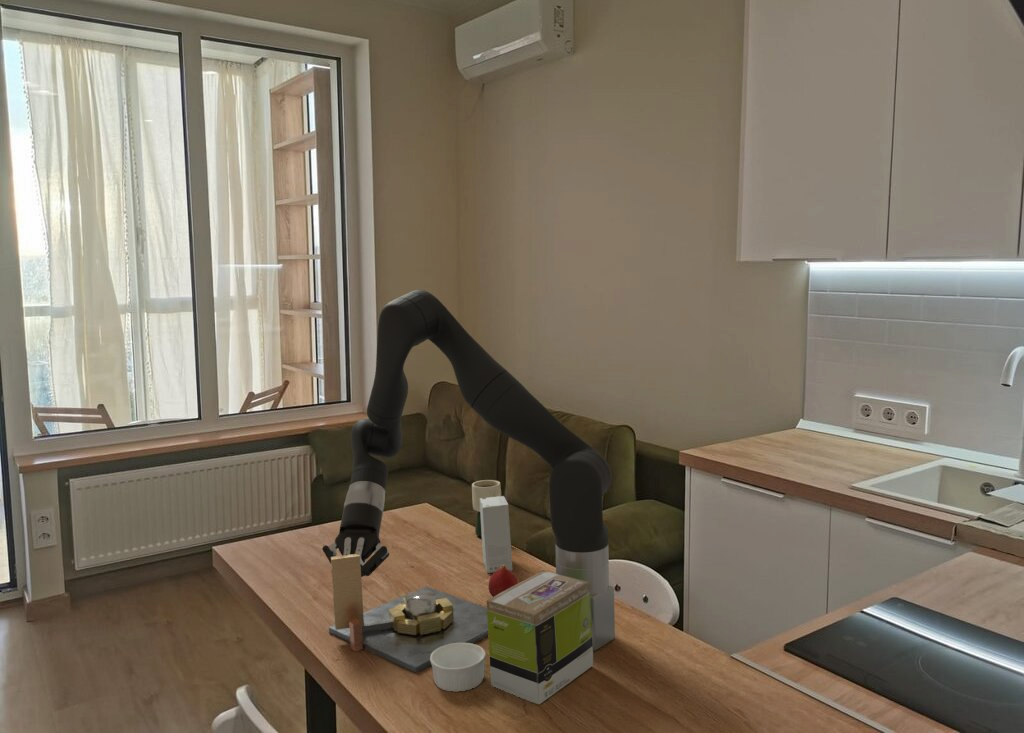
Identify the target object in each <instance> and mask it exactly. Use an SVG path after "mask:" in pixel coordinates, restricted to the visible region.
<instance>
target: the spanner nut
mask: <svg viewBox="0 0 1024 733" xmlns="http://www.w3.org/2000/svg"><path fill="white" fill-rule="evenodd" d="M330 565H331V566H330V567H331V579H332V580H331V581H332V583H331V584H332V597H333V613H334V614H333V616H334V625H335V629H336V630H339V629H346V628H349V629H350V626H349V621H351V620H355V619H359V620H360V621H361V622H362V632H364V631H371V630H378V629H384V628H391V627H392V628H393V629H394V631H397V632H398V633H405V634H411V635H417V634H418V633H419V634H420V635H423V634H428V633H432V632H437V631H441V629H445V628H446V627H447V626H448V625H449V624H450V623H451V622H452V621H453V619H454V614H453V604H452V603H451V602H450V601H449V600H448V599H447V598H442V599H437V600H436V613H432V614H427V615H423V616H418V617H417V620H412V619H405V617H406V608H405V598H403V604H398V605H397V606H396V607H394V608H393V609H388V610H389V618H387V619H380V620H374V621H367V622H364V616H363V613H364V603H363V601H364V600H363V586H362V577H361V565H360V554H351V555H343V556H342V555H338V556H337V555H336V556H334V557H331V563H330Z"/></svg>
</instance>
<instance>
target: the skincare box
mask: <svg viewBox="0 0 1024 733" xmlns="http://www.w3.org/2000/svg"><path fill="white" fill-rule="evenodd" d="M480 515H481V533H482V536H481V546H482V549H481V550H482V561H483V565H484V568H485V570H486V573H487V574H491V573H492V574H493V573H494V572H496V571H497V570H498V569H499V568H500V567H501V566H502V565H505V566H506V569H508V570H509V571H511V572H512V571H513V560H512V559H513V558H512V555H513V554H512V543H511V541H512V540H511V528H510V514H509V503H508V501H507V499H506V497H505V496H504V495H501V496H498V497H489V498H480Z"/></svg>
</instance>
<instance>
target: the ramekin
mask: <svg viewBox="0 0 1024 733" xmlns="http://www.w3.org/2000/svg"><path fill="white" fill-rule="evenodd" d="M485 659H486V650H485V649H484V648H483V647H482V646H480V645H478V644H475V643H473V644H472V643H452V644H447V645H444V646H441V647H439V648H437V649H436V650H434V651H433V652H432V654H431V656H430V661H431V664H432V665H431V667H432V674H433V681H434V683H435V685H436V686H437V687H438V688H439V689H440V690H443V691H447V692H450V691H453V692H454V693H456V692H457V693H460V692H459V691H462V692H467V691H470V690H473V689H475V688H477V687H478V686H480V684H481V683H483V679H484V677H485V661H486V660H485ZM472 688H473V689H472ZM466 690H467V691H466ZM453 692H452V693H453Z"/></svg>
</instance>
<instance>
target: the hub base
mask: <svg viewBox="0 0 1024 733" xmlns="http://www.w3.org/2000/svg"><path fill="white" fill-rule="evenodd" d="M403 598H405V608H406V617H405V619H412V620H417V617H418V616H423V615H427V614H432V613H436V600H437V599H442V598H447V599H448V600H449V601H450V602H451V603H452V604H453V614H454V619H453V621H452V622H451V623H450V624H449V625H448V626H447V627H446V628H445V629H441V631H437V632H432V633H428V634H423V635H420V634H419V633H418V634H417V635H411V634H405V633H398V632H397V631H394V629H393V628H392V627H391V628H384V629H378V630H371V631H364V632H362V622H361V621H360V620H359V619H355V620H351V621H349V626H350V629H349V628H346V629H339V630H336V629H335V624H334V625H331V626H329V627H328V633H329V634H332V635H333V636H336V637H338V638H340V639H342V640H344V641H346V642H347V643H348V642H349V643H350V649H351V650H352V651H353V652H358V651H361V650H366V651H367V652H370V653H372V654H374V655H376V656H379V657H381V658H382V659H384V660H387V661H389V662H392V663H394V664H396V665H398V666H400V667H401V668H404V669H407V670H408V671H410V672H413V673H415V674H417V673H419V672H421V671H423V670H425V669H426V668H429V667H430V665H431V666H432V664H431V661H430V656H431V654H432V652H433V651H434V650H436V649H437V648H439V647H441V646H444V645H447V644H452V643H472V644H475V643H477V642H478V641H480V640H482V639H484V638H486V637H488V620H487V606H486V607H485V606H483V605H481V604H478V603H475V602H472V601H469V600H466V599H463V598H460V597H458V596H455V595H451V594H449V593H447V592H444V591H441V590H439V589H435V588H432V587H430V586H424V587H421V588H419V589H416V590H413V591H410V592H408V593H407V594H405V595H402V596H400V597H398V598H395V599H393V600H391V601H388V602H385V603H383V604H381V605H379V606H376V607H373V608H371V609H369V610H366V611H365V612H364V611H363V616H364V622H367V621H374V620H380V619H387V618H389V610H388V609H393V608H394V607H396V606H397V605H398V604H403Z"/></svg>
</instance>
